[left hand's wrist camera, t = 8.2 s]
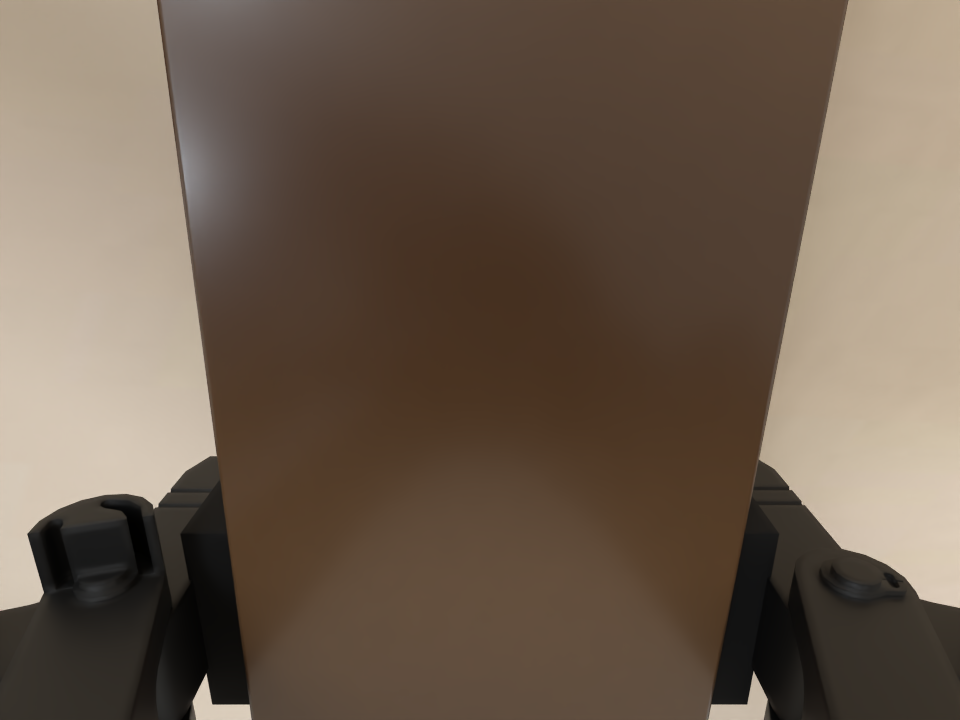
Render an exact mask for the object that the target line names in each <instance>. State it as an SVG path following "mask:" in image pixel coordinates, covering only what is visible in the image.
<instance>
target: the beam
mask: <svg viewBox="0 0 960 720" xmlns="http://www.w3.org/2000/svg"><path fill="white" fill-rule="evenodd" d="M847 4H848V0H157V5H158V12H159V20H160V28H161V35H162V43H163V50H164V58H165V66H166V73H167V81H168V88H169V96H170V103H171V111H172V119H173V126H174V134H175V141H176V149H177V157H178V164H179V172H180V179H181V187H182V194H183V202H184V210H185V217H186V225H187V232H188V240H189V248H190V255H191V263H192V270H193V278H194V285H195V293H196V301H197V308H198V316H199V323H200V331H201V339H202V346H203V354H204V361H205V369H206V376H207V384H208V392H209V399H210V407H211V414H212V422H213V430H214V437H215V445H216V452H217V460H218V467H219V475H220V483H221V490H222V498H223V505H224V513H225V521H226V528H227V536H228V543H229V551H230V558H231V566H232V574H233V581H234V589H235V596H236V604H237V612H238V619H239V627H240V634H241V642H242V649H243V657H244V665H245V672H246V680H247V687H248V695H249V703H250V710H251V718H252V720H708V718H709V712H710V707H711V702H712V697H713V692H714V687H715V682H716V677H717V671H718V666H719V661H720V656H721V651H722V646H723V641H724V635H725V630H726V625H727V620H728V615H729V610H730V605H731V600H732V594H733V589H734V584H735V579H736V574H737V569H738V564H739V558H740V553H741V548H742V543H743V538H744V533H745V528H746V523H747V517H748V512H749V507H750V502H751V497H752V492H753V487H754V481H755V476H756V471H757V466H758V461H759V456H760V451H761V446H762V440H763V435H764V430H765V425H766V420H767V415H768V410H769V404H770V399H771V394H772V389H773V384H774V379H775V374H776V369H777V363H778V358H779V353H780V348H781V343H782V338H783V333H784V328H785V322H786V317H787V312H788V307H789V302H790V297H791V292H792V286H793V281H794V276H795V271H796V266H797V261H798V256H799V251H800V245H801V240H802V235H803V230H804V225H805V220H806V215H807V209H808V204H809V199H810V194H811V189H812V184H813V179H814V174H815V168H816V163H817V158H818V153H819V148H820V143H821V138H822V132H823V127H824V122H825V117H826V112H827V107H828V102H829V97H830V91H831V86H832V81H833V76H834V71H835V66H836V61H837V55H838V50H839V45H840V40H841V35H842V30H843V25H844V20H845V14H846V9H847Z"/></svg>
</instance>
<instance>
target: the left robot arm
mask: <svg viewBox="0 0 960 720" xmlns="http://www.w3.org/2000/svg"><path fill="white" fill-rule="evenodd" d="M27 535H28V538H29V542H30V545H31V549H32V552H33V556H34V559H35V563H36V566H37V570H38V573H39V577H40V580H41V584H42V587H43V591H44V594H43V596H42V598H41V600H40V602H39V603H35V604H31V605H27V606H23V607H18V608H13V609H8V610H3V611H0V720H196V717H195V711H194V706H193V699H194V697H195V695H196V693H197V691H198V689H199V687H200V685H201V683H202V681H203V679H204V677H205V675H206V673H207V678H208V683H209V689H210V694H211V699H212V704H250V703H249V695H248V687H247V680H246V672H245V665H244V657H243V649H242V642H241V634H240V627H239V619H238V612H237V604H236V596H235V589H234V581H233V574H232V566H231V558H230V551H229V543H228V536H227V528H226V521H225V513H224V505H223V498H222V490H221V483H220V475H219V467H218V460H217V456H210V457H209V458H207V459H205V460H204V461H202V462H200V463H199V464H197V465H195V466H194V467H192V468H191V469H189V470H187V471H186V472H185V473H184V474H183V475H182V477H181V478H180V479H179V480H178V481H177V482H176V484H175V485H174V486H173V487H172V488H171V493H167V494H166V496H165V497H164V498H163V499H162V500H161V502H160V503H159V506H158V508H155V509H153V505H152V504H151V503H150V502H148V501H147V500H146V499H144V498H143V497H139V496H134V495H129V494H117V495H103V496H99V497H94V498H90V499H85V500H81V501H79V502H76V503H73V504H71V505H68V506H66V507H63V508H61V509H58V510H57V511H55V512H53V513H52V514H50V515H49V516H47V517H45V518H44V519H42V520H40V521H39V522H38V523H37V524H36V525H35V526H34V527H33V528H32V530H31V531H30V532H29V533H28V534H27ZM753 671H754V672H755V674H756V676H757V678H758V680H759V682H760V684H761V686H762V688H763V690H764V692H765V694H766V696H767V698H768V701H767V706H766V711H765V716H764V720H960V608H957V607H952V606H947V605H942V604H937V603H932V602H928V601H925V600H921V599H919V597H918V595H917V593H916V591H915V590H914V589H913V587H912V586H911V585H910V584H909V582H908V581H907V580H906V579H905V577H903V576H902V575H900V574H899V573H898V572H896V571H895V570H893V569H892V568H891V567H889V566H888V565H886V564H884V563H882V562H880V561H877V560H875V559H873V558H871V557H869V556H866V555H863V554H860V553H856V552H852V551H848V550H844V549H841V548H840V546H839V545H838V544H837V543H836V542H835V541H834V539H833V538H832V537H831V536H830V535H829V533H828V532H827V531H826V530H825V529H824V527H823V526H822V525H821V524H820V523H819V522H818V520H817V519H816V518H815V517H814V516H813V514H812V513H811V512H810V511H809V510H808V509H807V507H806V506H805V505H802V504H801V500H800V499H799V498H798V497H797V496H796V494H795V493H794V492H793V491H792V490H789V486H788V485H787V484H786V483H785V481H784V480H783V479H782V478H781V477H780V475H779V474H778V473H777V472H776V471H775V469H773V468H771V467H770V466H768V465H766V464H765V463H763V462H762V461H760V460H759V461H758V466H757V471H756V476H755V481H754V487H753V492H752V497H751V502H750V507H749V512H748V517H747V523H746V528H745V533H744V538H743V543H742V548H741V553H740V558H739V564H738V569H737V574H736V579H735V584H734V589H733V594H732V600H731V605H730V610H729V615H728V620H727V625H726V630H725V635H724V641H723V646H722V651H721V656H720V661H719V666H718V671H717V677H716V682H715V687H714V692H713V697H712V702H711V704H747V702H748V697H749V692H750V686H751V681H752V676H753Z"/></svg>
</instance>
